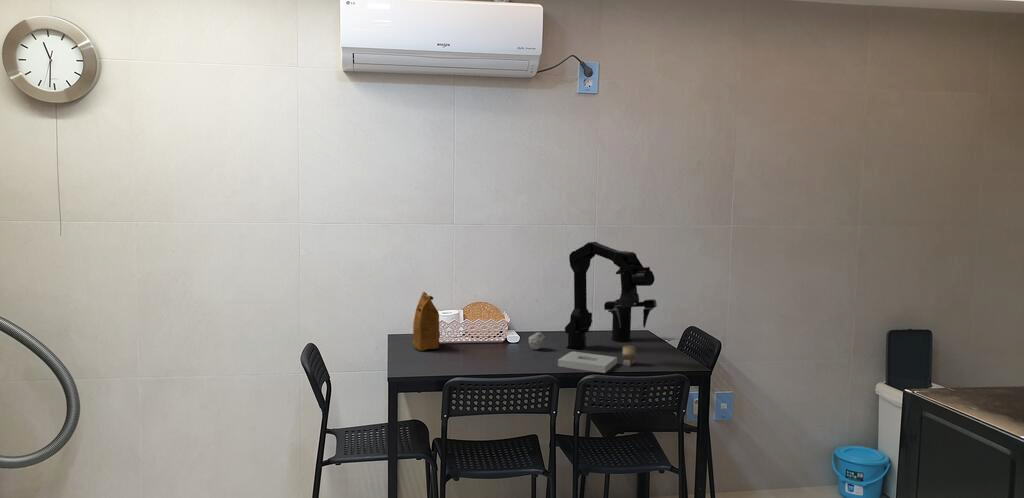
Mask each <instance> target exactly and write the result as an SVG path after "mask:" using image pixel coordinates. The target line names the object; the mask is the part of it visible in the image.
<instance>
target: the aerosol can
mask: <svg viewBox="0 0 1024 498" xmlns="http://www.w3.org/2000/svg"><path fill="white" fill-rule="evenodd" d="M619 295H620V296H621V293H620V294H619ZM620 296H619V297H620ZM619 299H620V298H617V299H616V300H614V301H617V303H620V300H619ZM617 309H619V317H620V328H619V327H618V325H617V322H616V320H615V318H614V316H613V315H612V329H611V341H613V342H617V343H629V342H631V340H632V339H631V327H632V307H624V308H621V307H620V308H617Z"/></svg>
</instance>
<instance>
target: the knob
mask: <svg viewBox="0 0 1024 498" xmlns="http://www.w3.org/2000/svg"><path fill="white" fill-rule="evenodd" d="M636 347H637V346H636ZM636 347H635V346H633V345H624V346H622V357H621V359H622V360H623V362H622V366H623V367H624V366H625V367H630V366H632V365H633V364H634V363H635V361H636V356H637V355H636V354H637V353H636V352H637V350H636V349H637V348H636Z"/></svg>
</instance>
